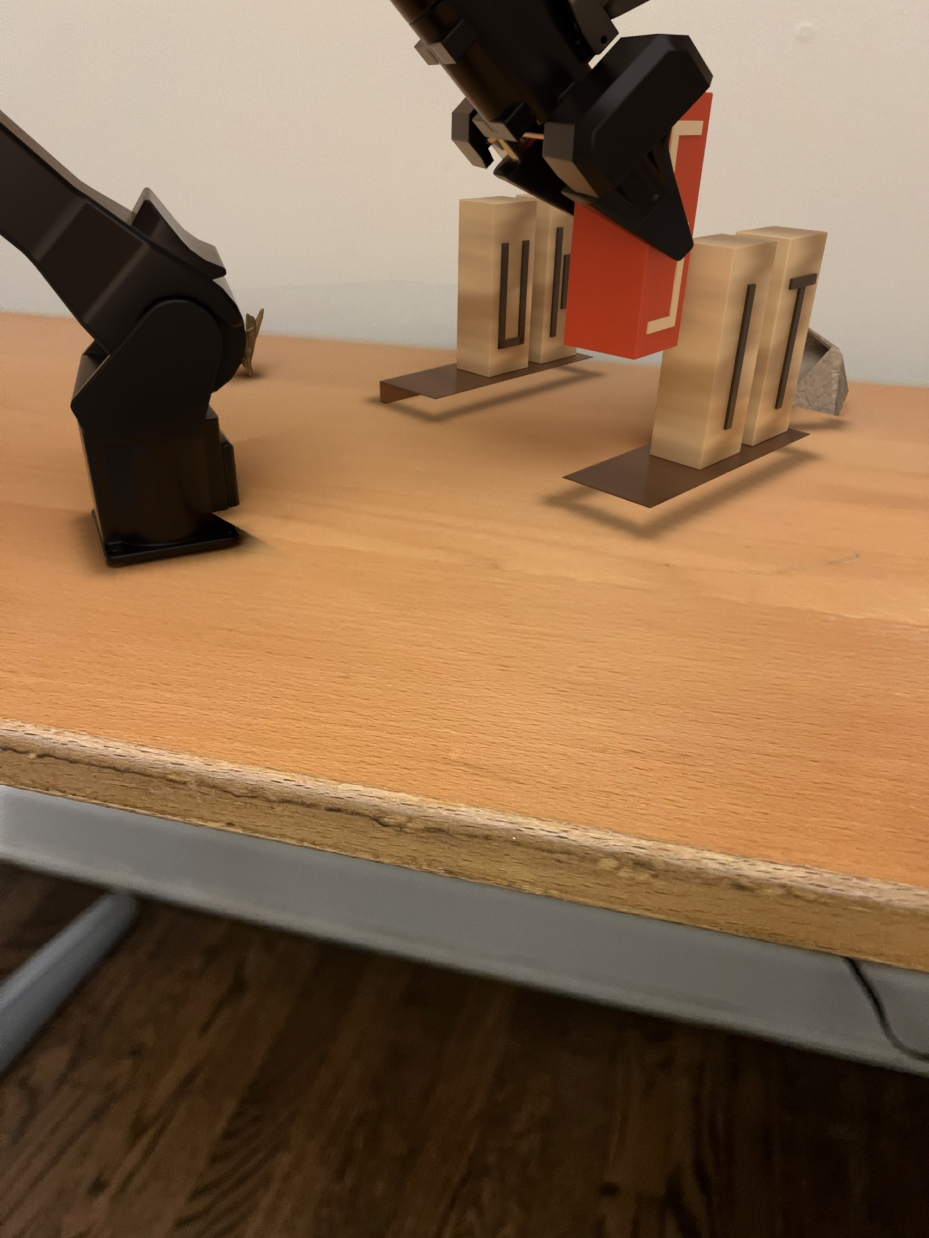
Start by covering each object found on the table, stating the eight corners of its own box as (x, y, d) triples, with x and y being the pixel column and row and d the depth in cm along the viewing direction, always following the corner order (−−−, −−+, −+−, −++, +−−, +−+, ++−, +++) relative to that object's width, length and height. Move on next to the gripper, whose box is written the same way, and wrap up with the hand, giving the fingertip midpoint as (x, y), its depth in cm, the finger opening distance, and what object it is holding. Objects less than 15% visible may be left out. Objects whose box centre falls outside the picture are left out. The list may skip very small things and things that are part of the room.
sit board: (646, 534, 48) (682, 264, 42) (559, 501, 52) (579, 248, 45) (806, 455, 60) (855, 233, 53) (725, 433, 63) (761, 222, 56)
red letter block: (636, 361, 47) (669, 90, 41) (562, 345, 49) (583, 88, 43) (679, 346, 50) (715, 92, 44) (607, 332, 52) (632, 90, 46)
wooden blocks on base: (435, 419, 65) (436, 211, 58) (379, 400, 68) (374, 203, 61) (592, 374, 76) (608, 196, 69) (537, 360, 79) (547, 190, 73)
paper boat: (868, 427, 61) (740, 383, 61) (818, 479, 67) (701, 440, 67) (878, 301, 67) (760, 260, 66) (831, 359, 72) (722, 322, 72)
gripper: (705, -259, 30) (898, 130, 38) (517, -142, 45) (684, 116, 54) (468, 16, 32) (701, 329, 40) (365, 38, 47) (549, 261, 56)
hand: (655, 244), depth 47 cm, fingers closed on red letter block, 6 cm apart
